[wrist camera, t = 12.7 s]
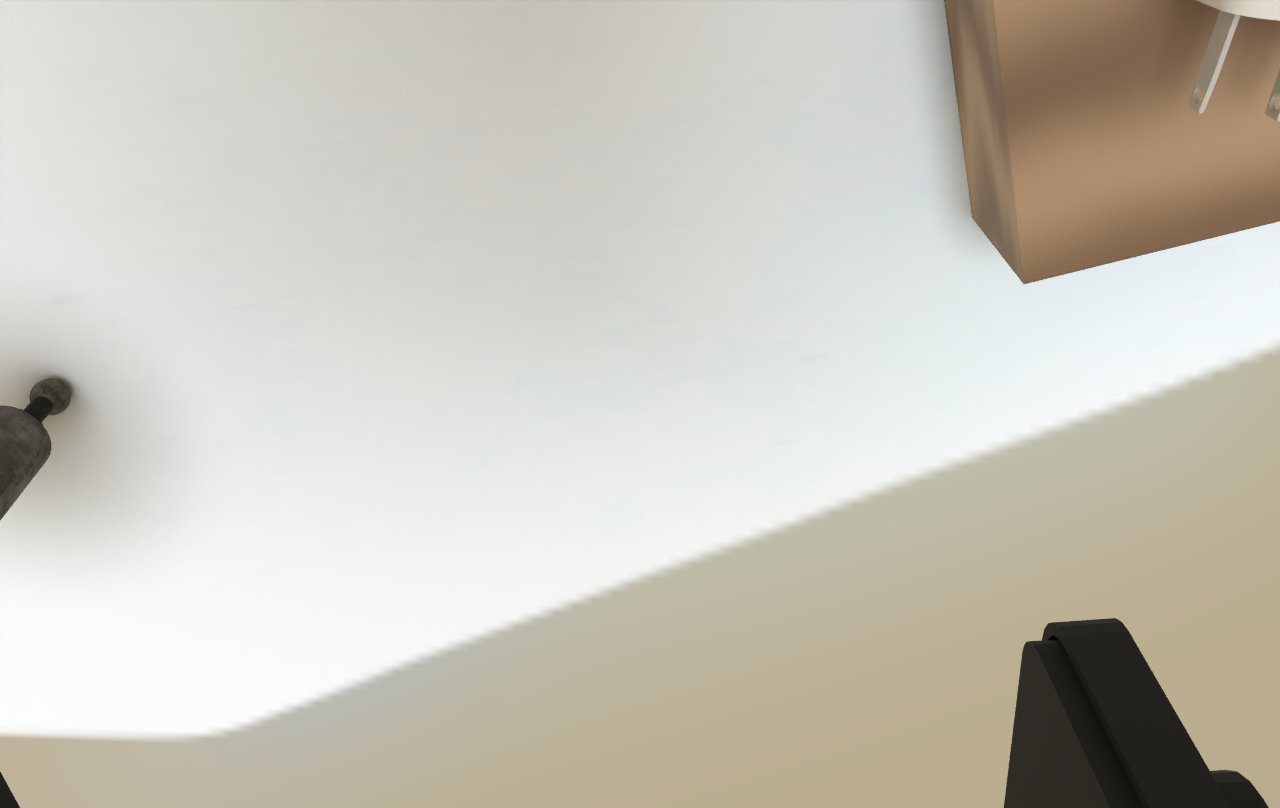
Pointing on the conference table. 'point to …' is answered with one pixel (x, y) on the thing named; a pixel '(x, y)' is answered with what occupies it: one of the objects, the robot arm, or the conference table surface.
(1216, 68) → the usb wall charger
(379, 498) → the conference table surface
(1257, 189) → the walnut block
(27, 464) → the microphone
